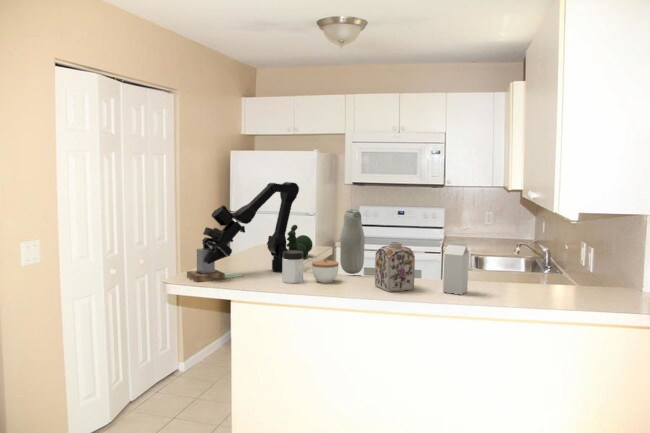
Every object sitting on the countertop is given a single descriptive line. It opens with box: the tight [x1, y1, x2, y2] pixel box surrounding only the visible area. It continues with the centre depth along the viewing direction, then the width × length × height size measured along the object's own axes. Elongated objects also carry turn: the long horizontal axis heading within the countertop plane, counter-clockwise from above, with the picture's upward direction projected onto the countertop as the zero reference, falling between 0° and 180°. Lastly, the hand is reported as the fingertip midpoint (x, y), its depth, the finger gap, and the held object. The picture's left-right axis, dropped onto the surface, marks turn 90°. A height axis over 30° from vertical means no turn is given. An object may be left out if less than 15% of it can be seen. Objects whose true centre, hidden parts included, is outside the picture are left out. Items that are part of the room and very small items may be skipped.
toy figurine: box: [286, 224, 314, 259], centre depth 290 cm, size 9×19×25 cm
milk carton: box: [442, 241, 470, 296], centre depth 220 cm, size 7×7×19 cm
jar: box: [281, 249, 304, 284], centre depth 235 cm, size 9×8×12 cm
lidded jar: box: [311, 258, 339, 284], centre depth 236 cm, size 11×11×9 cm
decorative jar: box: [374, 241, 416, 293], centre depth 225 cm, size 12×12×18 cm
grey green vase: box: [339, 208, 366, 275], centre depth 253 cm, size 10×10×28 cm
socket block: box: [186, 269, 226, 283], centre depth 239 cm, size 12×11×2 cm
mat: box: [224, 272, 244, 279], centre depth 245 cm, size 8×8×1 cm
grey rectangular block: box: [196, 247, 216, 275], centre depth 238 cm, size 6×6×12 cm
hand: (203, 261), depth 237 cm, fingers open, 9 cm apart
